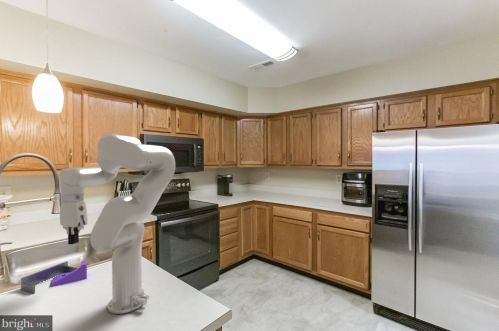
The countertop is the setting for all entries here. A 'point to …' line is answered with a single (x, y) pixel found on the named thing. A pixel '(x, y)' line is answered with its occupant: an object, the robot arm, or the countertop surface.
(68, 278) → the bracket
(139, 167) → the robot arm
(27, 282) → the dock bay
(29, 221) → the countertop surface
